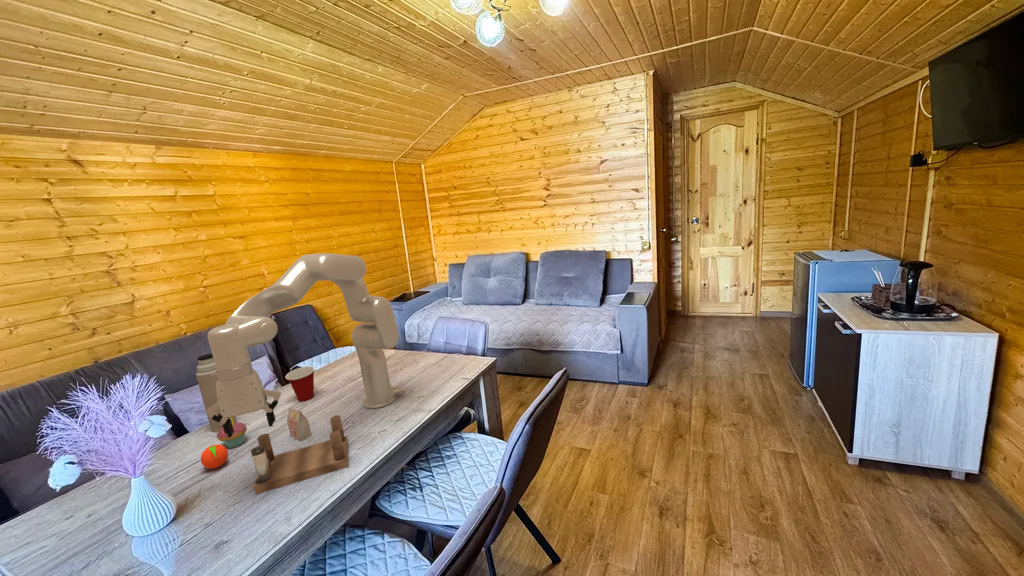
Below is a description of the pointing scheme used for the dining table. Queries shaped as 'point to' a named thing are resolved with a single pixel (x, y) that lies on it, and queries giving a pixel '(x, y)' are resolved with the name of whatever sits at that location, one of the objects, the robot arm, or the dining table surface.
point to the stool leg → (261, 463)
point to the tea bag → (298, 425)
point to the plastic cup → (302, 382)
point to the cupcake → (237, 435)
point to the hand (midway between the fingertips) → (251, 429)
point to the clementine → (214, 456)
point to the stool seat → (305, 459)
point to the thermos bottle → (209, 387)
